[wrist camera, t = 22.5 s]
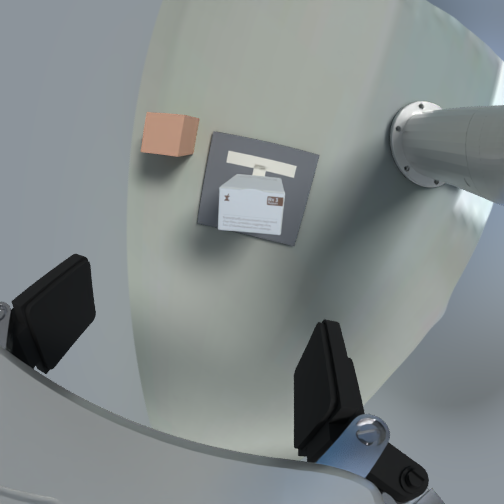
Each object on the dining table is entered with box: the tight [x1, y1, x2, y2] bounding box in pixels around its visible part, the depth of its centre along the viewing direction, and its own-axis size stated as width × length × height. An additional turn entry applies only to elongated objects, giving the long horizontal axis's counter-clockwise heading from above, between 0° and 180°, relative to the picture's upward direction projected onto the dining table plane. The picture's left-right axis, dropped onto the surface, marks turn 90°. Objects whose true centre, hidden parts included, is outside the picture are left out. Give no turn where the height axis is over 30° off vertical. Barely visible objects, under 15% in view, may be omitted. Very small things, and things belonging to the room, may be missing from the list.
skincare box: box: [218, 174, 285, 235], centre depth 30 cm, size 6×4×12 cm
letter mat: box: [197, 132, 319, 246], centre depth 35 cm, size 14×13×1 cm
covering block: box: [141, 112, 199, 157], centre depth 31 cm, size 5×5×6 cm
